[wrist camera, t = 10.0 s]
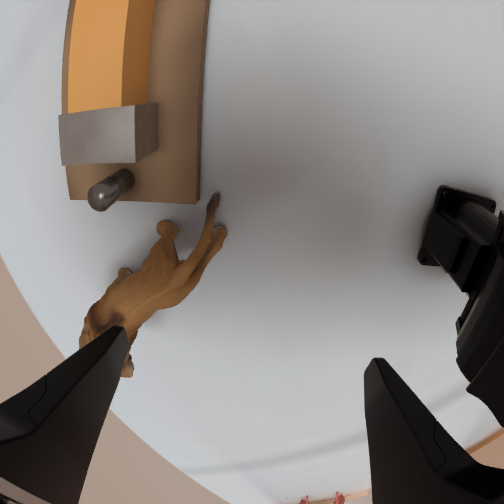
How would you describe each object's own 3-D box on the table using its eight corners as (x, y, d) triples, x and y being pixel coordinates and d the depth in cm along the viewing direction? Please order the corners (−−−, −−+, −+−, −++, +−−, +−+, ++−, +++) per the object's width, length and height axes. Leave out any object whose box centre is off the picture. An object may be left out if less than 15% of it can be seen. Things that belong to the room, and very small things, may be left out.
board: (222, -87, 8) (211, -119, 4) (199, 198, 19) (182, 227, 15) (92, -60, 8) (62, -78, 4) (77, 194, 19) (42, 219, 15)
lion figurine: (149, 326, 26) (118, 405, 18) (102, 294, 24) (57, 368, 16) (248, 212, 20) (235, 298, 12) (185, 164, 18) (126, 222, 10)
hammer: (176, -59, 9) (159, -82, 6) (158, 149, 17) (135, 162, 14) (106, -43, 9) (81, -59, 6) (91, 151, 17) (62, 165, 14)
